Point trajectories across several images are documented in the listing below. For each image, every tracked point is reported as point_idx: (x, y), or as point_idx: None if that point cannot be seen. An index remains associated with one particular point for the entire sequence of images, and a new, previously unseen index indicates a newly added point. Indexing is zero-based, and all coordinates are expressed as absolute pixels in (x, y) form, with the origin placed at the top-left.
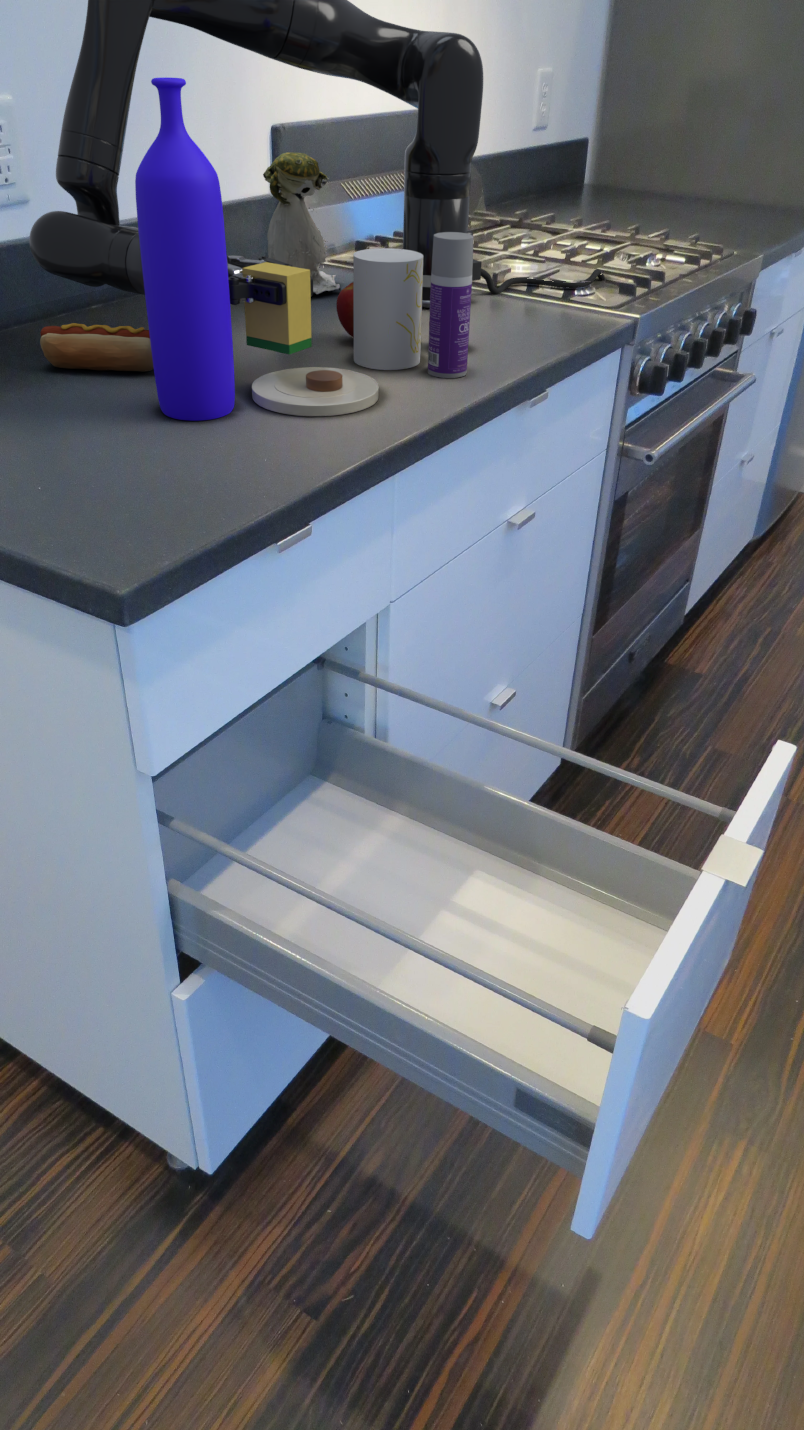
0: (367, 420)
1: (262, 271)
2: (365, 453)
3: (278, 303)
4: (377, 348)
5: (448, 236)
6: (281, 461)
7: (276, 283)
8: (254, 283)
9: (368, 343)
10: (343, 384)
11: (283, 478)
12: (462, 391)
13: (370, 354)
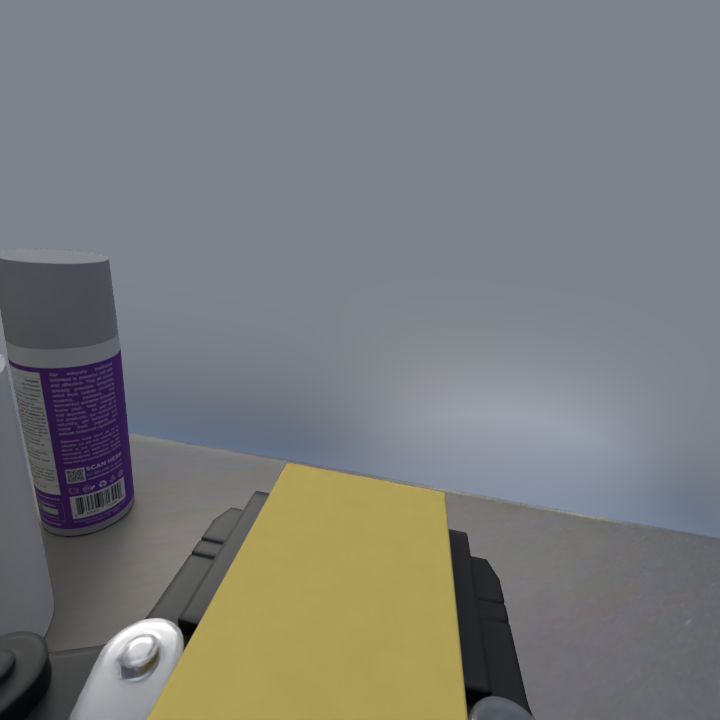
0: None
1: (456, 616)
2: (525, 513)
3: None
4: (32, 601)
5: (66, 258)
6: (661, 596)
7: (467, 550)
8: (503, 696)
9: (3, 623)
10: None
11: (689, 568)
12: (211, 473)
13: None
